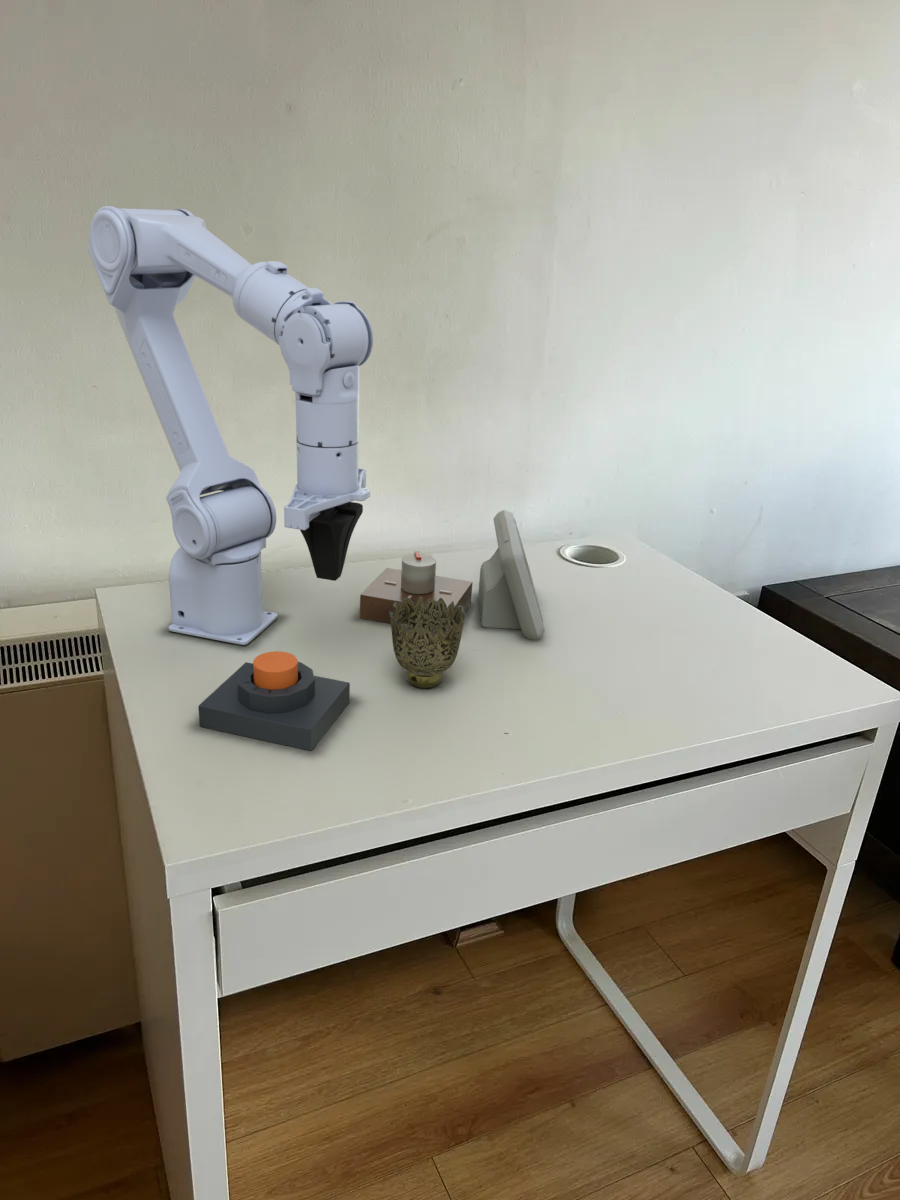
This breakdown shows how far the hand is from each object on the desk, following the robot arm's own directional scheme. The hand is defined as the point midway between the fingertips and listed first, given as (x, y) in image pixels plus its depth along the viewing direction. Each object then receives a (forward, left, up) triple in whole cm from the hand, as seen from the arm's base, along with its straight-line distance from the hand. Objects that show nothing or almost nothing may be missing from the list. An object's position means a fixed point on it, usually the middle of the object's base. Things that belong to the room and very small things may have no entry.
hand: (328, 577), depth 88 cm
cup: (+10, +1, -11) cm, 15 cm away
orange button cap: (-1, -10, -7) cm, 12 cm away
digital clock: (+15, +21, -11) cm, 28 cm away
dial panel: (+4, +17, -10) cm, 21 cm away
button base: (-1, -10, -10) cm, 14 cm away
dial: (+4, +17, -7) cm, 19 cm away
